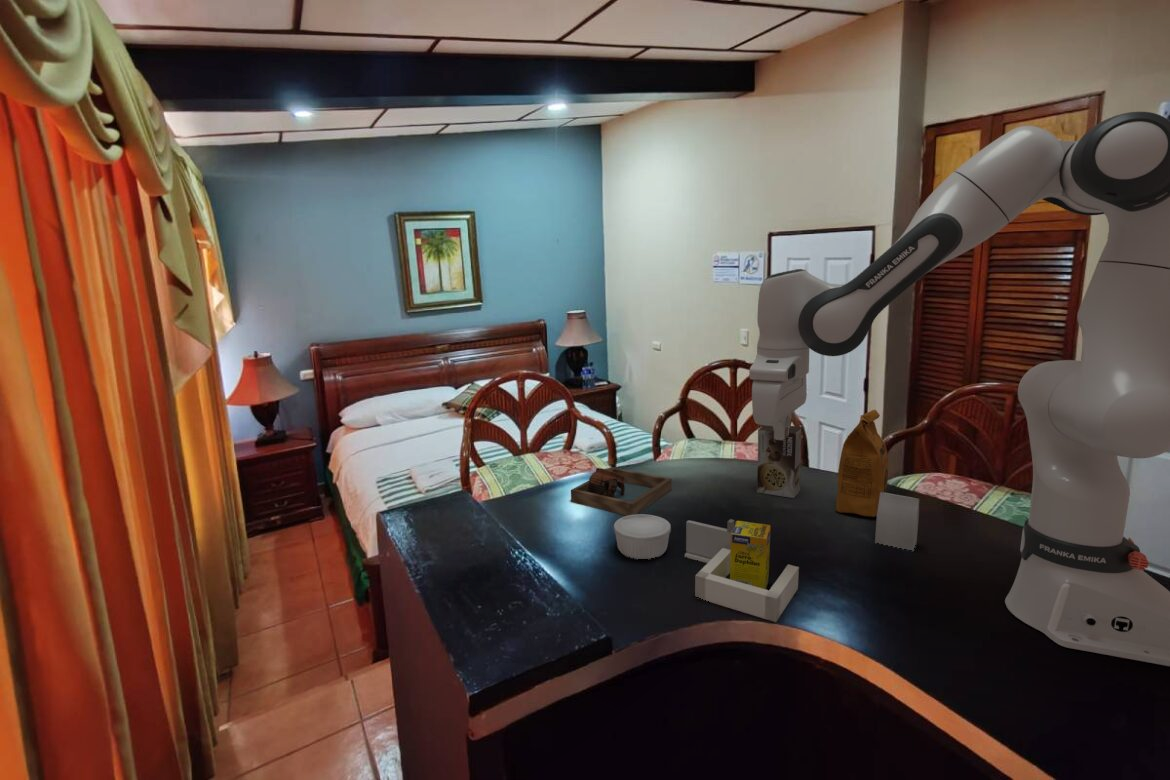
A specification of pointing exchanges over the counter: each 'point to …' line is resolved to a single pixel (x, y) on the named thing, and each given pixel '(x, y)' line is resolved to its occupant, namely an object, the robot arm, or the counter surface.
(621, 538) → the ramekin
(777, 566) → the counter surface
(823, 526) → the counter surface
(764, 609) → the white handled frame
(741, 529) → the supplement box
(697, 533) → the plate
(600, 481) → the pottery mug
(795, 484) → the coffee box
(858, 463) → the coffee package
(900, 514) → the grey rectangular block
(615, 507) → the frame
